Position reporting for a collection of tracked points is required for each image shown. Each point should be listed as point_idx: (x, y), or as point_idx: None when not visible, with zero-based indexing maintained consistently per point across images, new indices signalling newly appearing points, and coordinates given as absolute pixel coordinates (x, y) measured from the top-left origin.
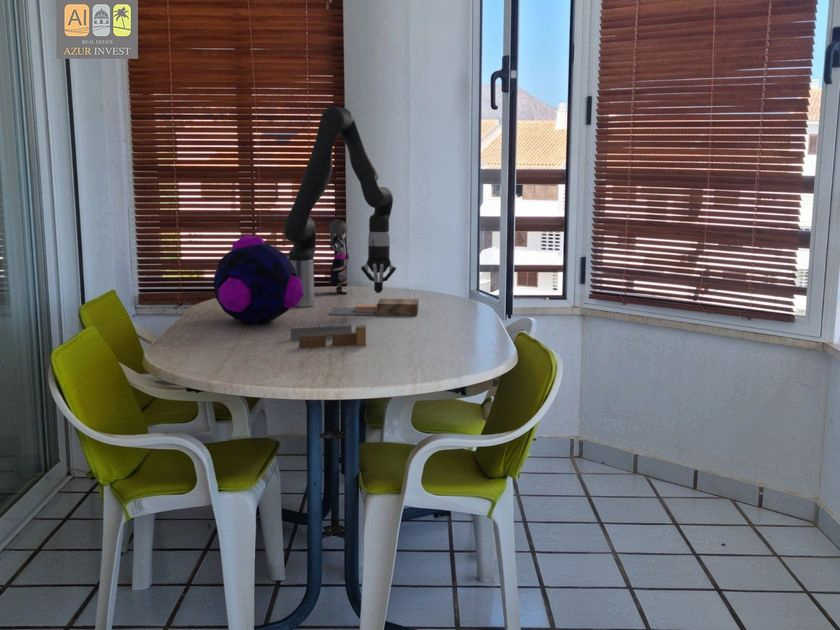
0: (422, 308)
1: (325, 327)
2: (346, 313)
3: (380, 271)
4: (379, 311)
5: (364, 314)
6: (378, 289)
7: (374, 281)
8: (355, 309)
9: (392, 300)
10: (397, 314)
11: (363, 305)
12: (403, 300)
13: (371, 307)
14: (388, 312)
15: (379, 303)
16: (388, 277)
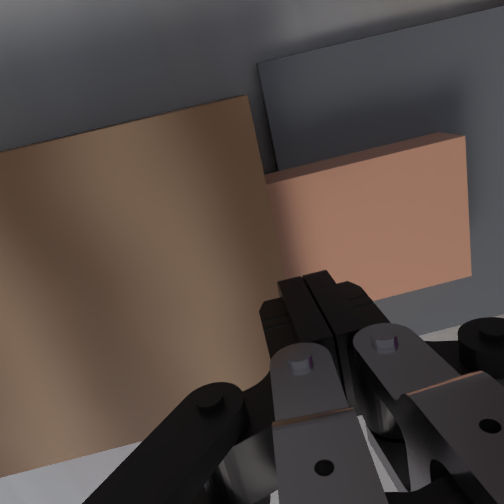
0: (17, 474)
1: None
2: (502, 43)
3: (357, 493)
4: (219, 100)
5: (342, 43)
6: (304, 288)
7: (405, 328)
8: None
9: (170, 345)
10: (60, 137)
11: (407, 217)
12: (70, 377)
13: (320, 170)
14: (137, 119)
15: (233, 134)
16: (150, 447)
